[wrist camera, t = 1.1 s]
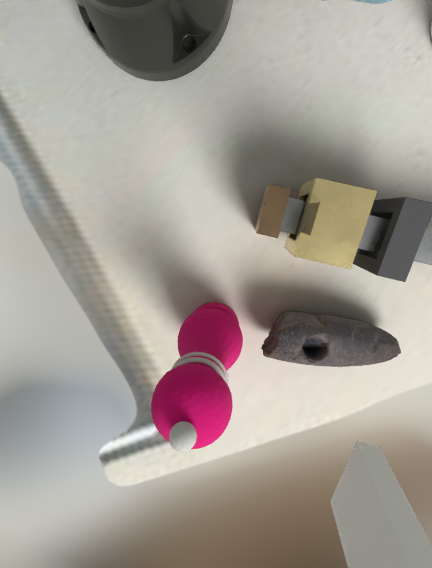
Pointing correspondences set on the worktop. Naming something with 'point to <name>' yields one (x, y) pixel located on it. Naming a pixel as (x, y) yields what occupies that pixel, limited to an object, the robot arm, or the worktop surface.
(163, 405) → the pepper mill
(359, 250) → the ring
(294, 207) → the bar clamp
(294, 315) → the perforated stone tool
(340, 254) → the sleeve
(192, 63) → the robot arm
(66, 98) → the worktop surface
